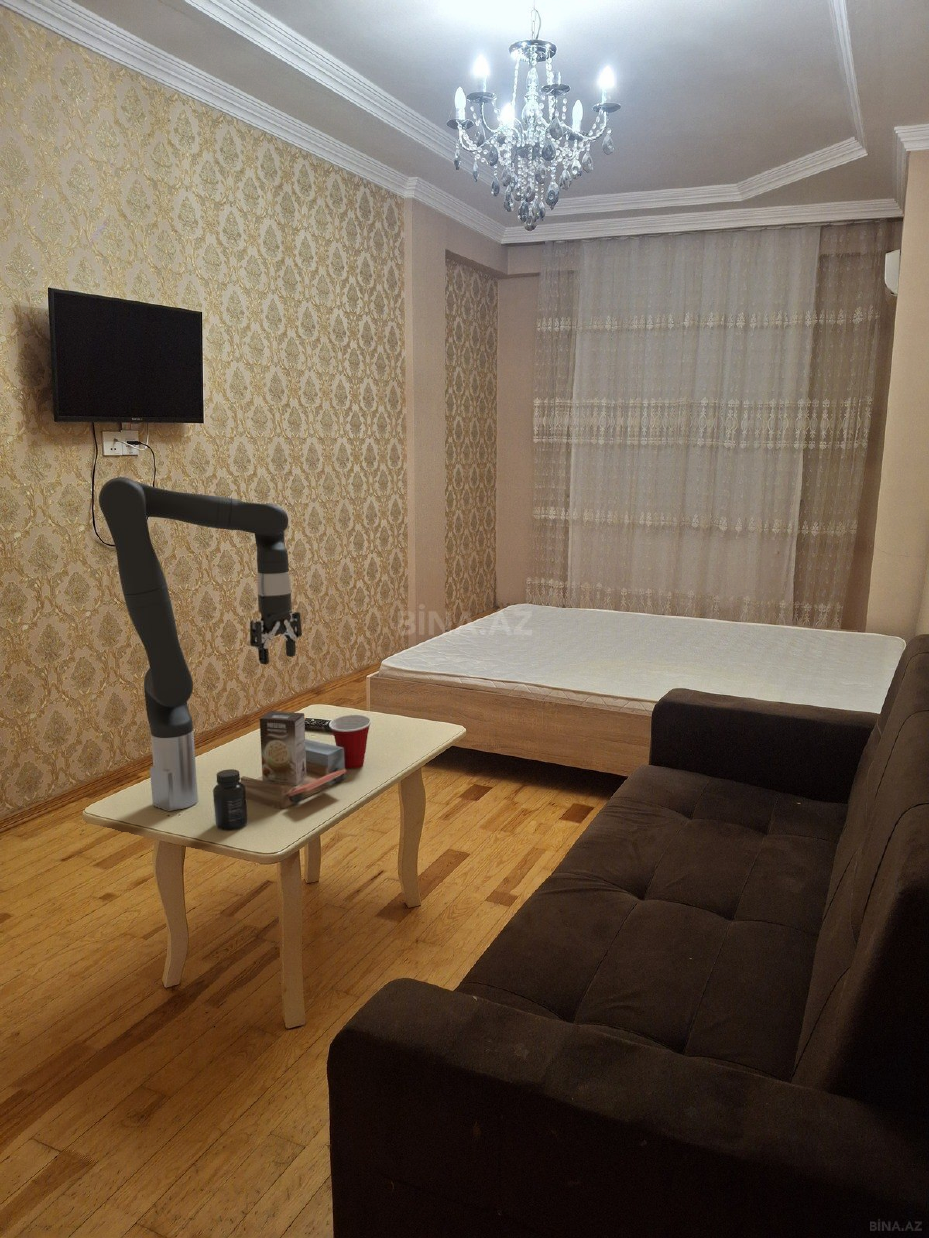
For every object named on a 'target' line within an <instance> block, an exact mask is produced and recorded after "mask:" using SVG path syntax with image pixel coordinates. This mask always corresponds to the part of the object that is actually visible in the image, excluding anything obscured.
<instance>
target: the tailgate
mask: <svg viewBox="0 0 929 1238" xmlns="http://www.w3.org/2000/svg"><path fill="white" fill-rule="evenodd" d="M343 773H345V774H346V773H347V768H345V769H343V770H340V771H337V772H334V773H331V774H328V775H326V776H323V777H321V778H319V779H317V780H315V781H313V782H311V783H309V784H306V785H304V786H302V787H300V788H298V789H296V790H294V791H292V792H289V796H292V795H295V794H298V793H302V792H305V791H309V790H311V789H313V788H315V787H317V786H319V785H321V784H323V783H326V782H328V781H330V780H332V779H334V778H336V777H338V776H340V775H341V774H343Z"/></svg>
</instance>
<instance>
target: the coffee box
mask: <svg viewBox="0 0 929 1238" xmlns="http://www.w3.org/2000/svg"><path fill="white" fill-rule="evenodd" d="M305 729H306V726H305V713H304V712H292V711H280V710H269V711H268V712H266V713H265V714H263V715H262V716H261V717H260V718H259V734H260V753H261V754H260V755H261V758H260V759H261V777H262V781H264V782H268V783H274V784H284V785H296V786H297V785H298V784H299V783H300V782H301V781H302V780H303V779H304V778H305V777H306V749H305V739H306V734H305V733H306V730H305Z"/></svg>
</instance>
